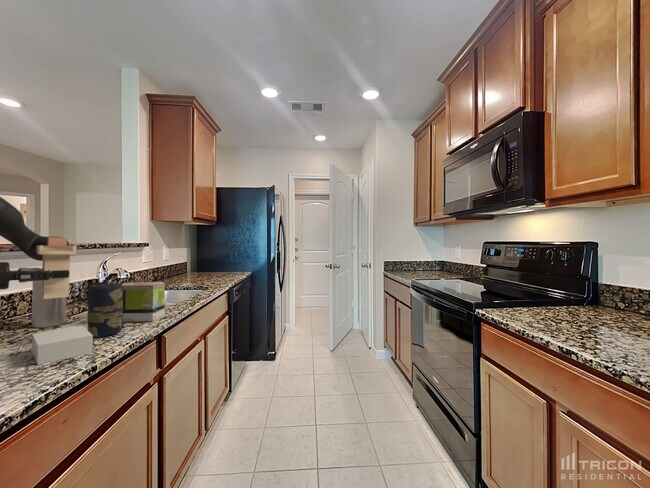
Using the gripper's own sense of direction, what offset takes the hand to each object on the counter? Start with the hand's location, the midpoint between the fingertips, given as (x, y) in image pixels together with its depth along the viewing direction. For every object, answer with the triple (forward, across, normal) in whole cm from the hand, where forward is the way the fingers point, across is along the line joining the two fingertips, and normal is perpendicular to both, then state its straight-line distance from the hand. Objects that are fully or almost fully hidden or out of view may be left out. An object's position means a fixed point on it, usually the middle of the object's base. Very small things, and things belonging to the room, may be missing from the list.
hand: (67, 273), depth 89 cm
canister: (+10, +2, +22) cm, 24 cm away
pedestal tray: (-3, 0, +7) cm, 7 cm away
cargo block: (-3, 0, -7) cm, 7 cm away
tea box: (+25, +15, +22) cm, 36 cm away
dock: (-2, -9, +22) cm, 24 cm away
